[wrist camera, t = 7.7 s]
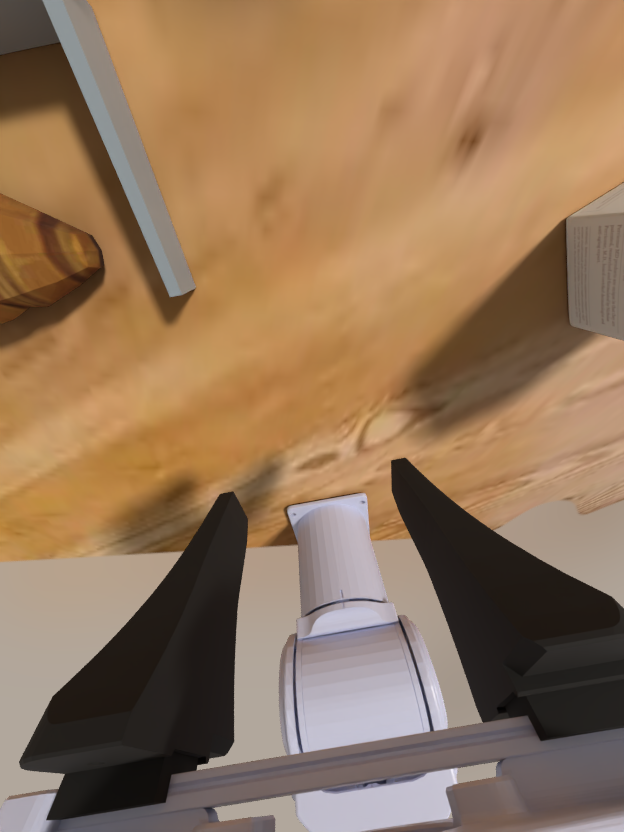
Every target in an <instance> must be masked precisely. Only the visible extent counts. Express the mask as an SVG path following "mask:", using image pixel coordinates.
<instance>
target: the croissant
mask: <svg viewBox="0 0 624 832" xmlns="http://www.w3.org/2000/svg"><path fill="white" fill-rule="evenodd" d="M102 266H104V261H103V255H102V250H101V249H100V247H99V246H98V244H97V242H96V241H95V239H94V238H93V236H92V235H90V234H88V233H86V232H83V231H81V230H79V229H77V228H75V227H73V226H70V225H68V224H66V223H64V222H62V221H60V220H58V219H55V218H53V217H51V216H49V215H47V214H45V213H42V212H40V211H38V210H36V209H34V208H31V207H29V206H27V205H25V204H23V203H20V202H18V201H16V200H14V199H11V198H9V197H7V196H5V195H3V194H0V324H3V323H5V322H8V321H11V320H14V319H15V318H17V317H18V316H19V315H21V314H22V313H23V312H24V311H26V310H27V309H28V308H30V307H49V306H50V305H52V304H53V303H55V302H56V301H58V300H59V299H61V298H62V297H64V296H65V295H67V294H68V293H70V292H71V291H73V290H74V289H76V288H77V287H79V286H80V285H81V284H82V283H83V282H85V281H86V280H87V279H88V278H89V277H90V276H91V275H93V274H94V273H95V272H96V271H97V270H98V269H99V268H101V267H102Z"/></svg>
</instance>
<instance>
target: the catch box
mask: <svg viewBox="0 0 624 832" xmlns="http://www.w3.org/2000/svg"><path fill="white" fill-rule="evenodd" d="M58 42H61V45H62V47H63V49H64V52H65V54H66V56H67V59H68V61H69V63H70V66H71V68H72V70H73V73H74V75H75V77H76V80H77V82H78V84H79V87H80V89H81V91H82V93H83V96H84V98H85V100H86V103H87V105H88V107H89V110H90V112H91V114H92V117H93V119H94V121H95V124H96V126H97V128H98V131H99V133H100V135H101V138H102V140H103V142H104V145H105V147H106V149H107V152H108V154H109V156H110V159H111V161H112V163H113V166H114V168H115V170H116V173H117V175H118V177H119V179H120V182H121V184H122V186H123V189H124V191H125V193H126V196H127V198H128V200H129V203H130V205H131V207H132V210H133V212H134V214H135V217H136V219H137V221H138V224H139V226H140V228H141V231H142V233H143V235H144V238H145V240H146V242H147V245H148V247H149V249H150V252H151V254H152V256H153V259H154V261H155V263H156V265H157V268H158V270H159V272H160V275H161V277H162V279H163V282H164V284H165V286H166V289H167V291H168V293H169V296H170V297H174V296H179V295H183V294H185V293H187V292H189V291H191V290H193V289H195V288H196V286H195V284H194V281H193V278H192V276H191V273H190V270H189V267H188V265H187V262H186V259H185V257H184V254H183V251H182V249H181V246H180V243H179V241H178V238H177V235H176V233H175V230H174V227H173V224H172V222H171V219H170V216H169V214H168V211H167V208H166V206H165V203H164V200H163V198H162V195H161V192H160V189H159V187H158V184H157V181H156V179H155V176H154V173H153V171H152V168H151V165H150V163H149V160H148V157H147V155H146V152H145V149H144V146H143V144H142V141H141V138H140V136H139V133H138V130H137V128H136V125H135V122H134V120H133V117H132V114H131V112H130V109H129V106H128V103H127V101H126V98H125V95H124V93H123V90H122V87H121V85H120V82H119V79H118V77H117V74H116V71H115V69H114V66H113V63H112V60H111V58H110V55H109V52H108V50H107V47H106V44H105V42H104V39H103V36H102V34H101V31H100V28H99V26H98V23H97V20H96V17H95V15H94V12H93V9H92V7H91V6H90V5H89V3H88V2H87V1H86V0H0V55H1V54H6V53H11V52H16V51H20V50H25V49H30V48H35V47H39V46H44V45H49V44H53V43H58Z"/></svg>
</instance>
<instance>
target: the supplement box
mask: <svg viewBox="0 0 624 832" xmlns="http://www.w3.org/2000/svg"><path fill="white" fill-rule="evenodd" d="M566 243H567V273H568V304H569V321H570V325H571V326H573V327H576V328H580V329H584V330H587V331H591V332H595V333H598V334H601V335H605V336H609V337H612V338H616V339H620V340H623V341H624V183H622V184H620V185H619V186H617V187H616V188H614V189H612V190H611V191H609V192H608V193H606V194H604V195H603V196H601V197H600V198H598V199H596V200H595V201H593V202H592V203H590V204H588V205H587V206H585V207H584V208H582V209H580V210H579V211H577V212H576V213H574V214H572V215H571V216H569V217H568V218H567V220H566Z"/></svg>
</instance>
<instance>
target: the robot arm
mask: <svg viewBox="0 0 624 832" xmlns="http://www.w3.org/2000/svg"><path fill="white" fill-rule="evenodd" d="M391 474H392V493H393V496H394V499H395V502H396V504H397V507H398V510H399V512H400V515H401V517H402V519H403V521H404V523H405V525H406V527H407V529H408V531H409V533H410V535H411V537H412V539H413V541H414V543H415V545H416V547H417V550H418V552H419V554H420V555H421V558H422V560H423V562H424V564H425V566H426V568H427V571H428V573H429V576H430V578H431V581H432V583H433V586H434V589H435V591H436V594H437V596H438V599H439V601H440V604H441V607H442V610H443V613H444V615H445V618H446V621H447V623H448V626H449V629H450V632H451V634H452V637H453V640H454V643H455V646H456V648H457V651H458V654H459V657H460V660H461V663H462V666H463V669H464V672H465V674H466V677H467V680H468V683H469V686H470V689H471V692H472V695H473V698H474V701H475V704H476V707H477V710H478V712H479V715H480V717H481V719H482V722H483V723H479V724H473V725H467V726H461V727H455V728H449V729H447V728H448V722H447V715H446V710H445V706H444V701H443V697H442V694H441V690H440V686H439V683H438V680H437V676H436V673H435V670H434V667H433V664H432V661H431V658H430V656H429V653H428V650H427V648H426V645H425V643H424V640H423V638H422V636H421V634H420V632H419V630H418V628H417V626H416V625H415V624H414V623H413V622H412V621H410V620H409V619H408V617H407V616H405V615H399V616H397V614H396V610H395V607H394V604H393V602H389V601H388V598H387V594H386V591H385V587H384V584H383V581H382V577H381V574H380V570H379V567H378V563H377V560H376V557H375V553H374V550H373V546H372V543H371V539H370V535H369V520H368V505H367V496H366V494H365V493H358V494H353V495H347V496H342V497H336V498H330V499H325V500H319V501H314V502H308V503H303V504H297V505H292V506H289V507H288V508H287V513H288V516H289V519H290V522H291V525H292V527H293V530H294V533H295V536H296V539H297V542H298V552H299V575H300V595H301V596H300V597H301V618H298V619H297V620H296V621H297V633H295V634H292V635H290V636H289V638H288V640H287V642H286V644H285V646H284V648H283V650H282V654H281V660H280V670H279V711H280V724H281V732H282V739H283V744H284V748H285V751H286V753H287V756H281V757H276V758H269V759H263V760H257V761H251V762H246V763H240V764H233V765H227V766H222V767H216V768H210V769H203V770H198V771H196V770H197V765H201V764H207V763H208V762H209V758H215V757H221V756H225V755H226V754H227V753H228V751H229V750H230V748H231V746H232V744H233V743H234V669H235V666H234V665H235V643H236V642H235V641H236V624H237V608H238V599H239V592H240V585H241V579H242V572H243V565H244V559H245V552H246V546H247V531H248V518H247V516H246V515H245V513H244V511H243V509H242V507H241V505H240V503H239V501H238V499H237V497H236V496H235V494H234V492H228V493H223V494H220V495H219V497H218V498H217V500H216V501H215V503H214V505H213V506H212V508H211V510H210V511H209V513H208V515H207V516H206V518H205V520H204V521H203V523H202V525H201V526H200V528H199V529H198V531H197V532H196V534H195V536H194V537H193V539H192V540H191V542H190V543H189V545H188V546H187V548H186V549H185V551H184V552H183V554H182V555H181V557H180V558H179V560H178V561H177V562H176V564H175V565H174V566H173V568H172V569H171V571H170V572H169V573H168V575H167V576H166V577H165V579H164V580H163V581H162V582H161V584H160V585H159V586H158V587H157V589H156V590H155V591H154V592H153V594H152V595H151V596H150V597H149V598H148V600H147V601H146V602H145V603H144V604H143V605H142V606H141V608H140V609H139V610H138V611H137V612H136V613H135V615H134V616H133V617H132V618H131V619H130V620H129V621H128V622H127V623H126V625H125V626H124V627H123V628H122V629H121V630H120V631H119V632H118V633H117V634H116V635H115V636H114V637H113V638H112V640H111V641H109V643H108V644H107V645H106V646H105V647H104V648H103V649H102V650H101V651H100V652H99V653H98V654H97V655H96V656H95V657H94V658H93V659H92V660H91V661H90V662H89V663H88V664H87V665H85V666H84V668H82V669H81V670H80V671H79V672H78V673H77V674H76V675H75V676H74V677H73V678H72V679H71V680H70V681H69V682H68V683H67V684H66V685H64V686H63V687H62V688H61V689H60V691H58V692H57V693H56V694H55V695H54V696H53V697H52V699H51V701H50V703H49V705H48V707H47V708H46V710H45V712H44V715H43V716H42V718H41V720H40V722H39V724H38V726H37V728H36V730H35V732H34V734H33V736H32V738H31V740H30V742H29V744H28V745H27V748H26V749H25V751H24V753H23V755H22V757H21V759H20V761H19V763H20V767H21V768H22V769H24V770H30V771H39V772H51V773H62V774H65V776H64V778H63V780H62V783H61V785H60V787H59V789H54V790H45V791H38V792H32V793H26V794H20V795H15V796H9V797H8V798H7V799H6V800H5V801H4V803H3V805H2V807H1V809H0V832H275V818H274V816H273V815H270V816H262V817H250V818H243V819H236V820H229V821H222V822H220V821H219V820H218V816H217V813H216V811H215V810H214V809H213V808H215V807H221V806H227V805H233V804H239V803H246V802H252V801H258V800H264V799H270V798H276V797H283V796H288V795H292V798H293V800H294V801H295V807H296V816H297V817H298V819H299V821H300V822H301V823H302V824H303V826H304V827H305V828H306V829H307V830H308V831H309V832H624V608H623V607H622V606H620V604H619V603H618V602H617V601H615V599H613V598H612V597H611V596H609V595H607V594H605V593H603V592H601V591H599V590H597V589H595V588H593V587H591V586H589V585H587V584H585V583H583V582H581V581H579V580H577V579H575V578H573V577H571V576H569V575H567V574H565V573H563V572H561V571H560V570H558V569H556V568H554V567H552V566H551V565H549V564H547V563H545V562H543V561H542V560H540V559H538V558H536V557H535V556H533V555H531V554H530V553H528V552H526V551H525V550H523V549H521V548H520V547H518V546H516V545H514V544H513V543H511V542H510V541H508V540H507V539H505V538H503V537H502V536H500V535H499V534H497V533H496V532H494V531H493V530H491V529H490V528H488V527H487V526H485V525H484V524H483V523H481V522H480V521H478V520H477V519H476V518H474V517H473V516H471V515H470V514H469V513H467V512H466V511H465V510H464V509H462V508H461V507H460V506H458V505H457V504H456V503H455V502H453V501H452V500H451V499H450V498H449V497H447V496H446V495H445V494H444V493H443V492H442V491H440V490H439V489H438V488H437V487H436V486H435V485H433V484H432V483H431V482H430V481H429V480H428V479H427V478H426V477H425V476H424V475H423V474H422V473H421V472H419V471H418V470H417V469H416V468H415V467H414V466H413V465H412V464H411V463H410V462H409V461H408V460H407V459H406V458H401V459H396V460H391ZM498 761H500V762H498ZM492 762H498V763H497V766H496V777H494V778H488V779H482V780H476V781H470V782H465V783H459V784H458V783H457V779H456V775H457V771H458V770H457V768H461V767H467V766H473V765H479V764H485V763H492ZM451 812H452V816H453V818H449V815H450V813H451ZM448 818H449V819H448Z"/></svg>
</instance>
